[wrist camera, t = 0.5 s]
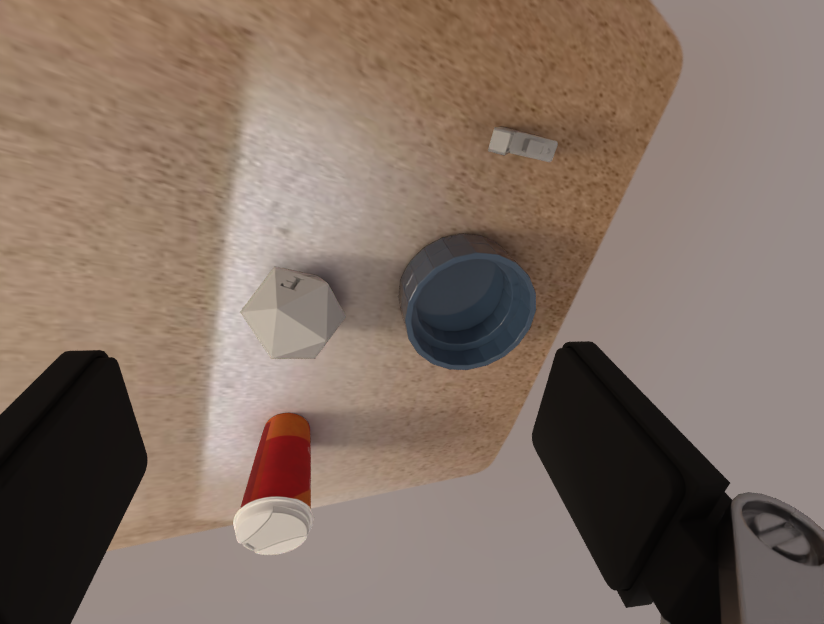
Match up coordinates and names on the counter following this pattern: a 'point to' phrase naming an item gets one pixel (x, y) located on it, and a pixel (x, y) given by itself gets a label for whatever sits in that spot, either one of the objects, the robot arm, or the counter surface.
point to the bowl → (465, 302)
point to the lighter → (522, 144)
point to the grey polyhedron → (293, 314)
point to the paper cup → (278, 489)
